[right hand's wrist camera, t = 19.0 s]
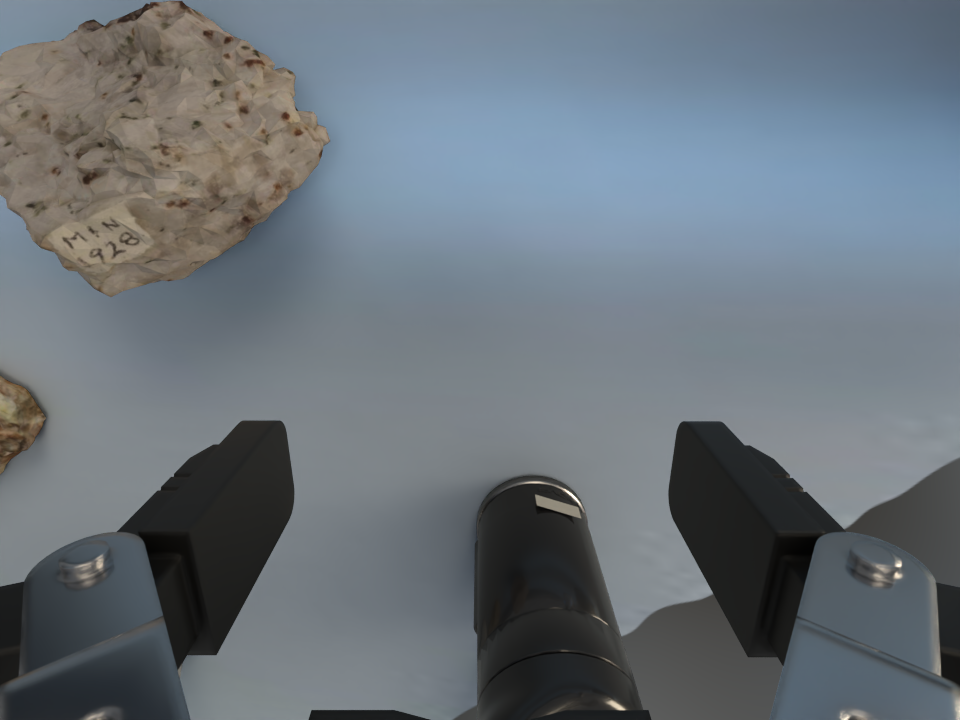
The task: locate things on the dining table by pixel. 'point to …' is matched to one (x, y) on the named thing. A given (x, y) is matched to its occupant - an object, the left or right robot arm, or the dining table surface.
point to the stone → (17, 421)
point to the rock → (148, 144)
